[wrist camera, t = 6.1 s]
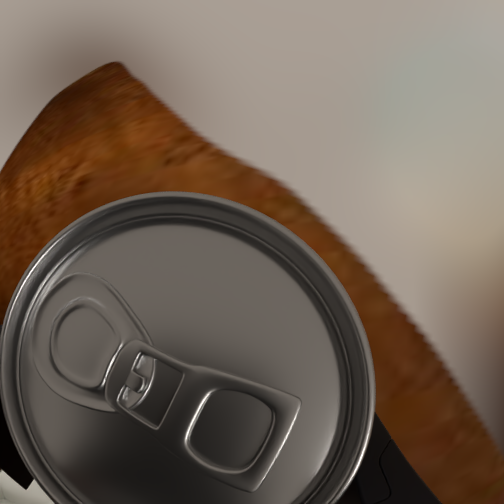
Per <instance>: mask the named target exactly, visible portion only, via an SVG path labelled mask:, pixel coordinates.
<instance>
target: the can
mask: <svg viewBox="0 0 504 504" xmlns="http://www.w3.org/2000/svg"><path fill="white" fill-rule="evenodd" d="M0 398H1V403H2V408H3V412H4V416H5V420H6V423H7V426H8V429H9V432H10V435H11V437H12V440H13V442H14V444H15V447H16V449H17V451H18V453H19V455H20V457H21V459H22V460H23V462H24V464H25V466H26V467H27V469H28V471H29V472H30V474H31V475H32V477H33V478H34V479H35V481H36V482H37V484H38V485H39V486H40V487H41V489H42V490H43V491H44V492H45V494H46V495H47V496H48V497H49V498H50V499H51V500H52V501H53V502H54V504H337V502H338V501H339V500H340V499H341V497H342V496H343V495H344V493H345V492H346V490H347V489H348V487H349V486H350V484H351V482H352V481H353V479H354V477H355V475H356V473H357V471H358V469H359V467H360V465H361V463H362V460H363V458H364V455H365V453H366V450H367V447H368V443H369V440H370V436H371V432H372V427H373V421H374V414H375V400H376V387H375V373H374V366H373V360H372V355H371V350H370V346H369V342H368V339H367V336H366V333H365V330H364V327H363V324H362V322H361V319H360V317H359V315H358V313H357V310H356V308H355V306H354V304H353V302H352V301H351V299H350V297H349V295H348V294H347V292H346V290H345V289H344V287H343V286H342V284H341V283H340V281H339V280H338V278H337V277H336V276H335V274H334V273H333V272H332V270H331V269H330V268H329V267H328V265H327V264H326V263H325V262H324V261H323V260H322V259H321V258H320V257H319V256H318V254H317V253H316V252H315V251H314V250H313V249H311V248H310V247H309V246H308V245H307V244H306V243H305V242H304V241H303V240H301V239H300V238H299V237H298V236H296V235H295V234H294V233H293V232H291V231H290V230H289V229H287V228H286V227H284V226H283V225H281V224H280V223H278V222H276V221H275V220H273V219H271V218H270V217H268V216H266V215H264V214H262V213H260V212H258V211H256V210H254V209H252V208H250V207H247V206H245V205H242V204H239V203H237V202H234V201H231V200H227V199H224V198H220V197H216V196H211V195H206V194H200V193H191V192H155V193H147V194H141V195H135V196H131V197H127V198H123V199H120V200H117V201H114V202H111V203H109V204H106V205H104V206H101V207H99V208H97V209H95V210H93V211H91V212H89V213H87V214H85V215H84V216H82V217H80V218H79V219H77V220H75V221H74V222H73V223H71V224H70V225H68V226H67V227H66V228H64V229H63V230H62V231H61V232H59V233H58V234H57V235H56V236H55V237H54V238H53V239H52V240H51V241H50V242H49V243H48V244H47V245H46V246H45V247H44V248H43V249H42V250H41V251H40V252H39V254H38V255H37V256H36V257H35V259H34V260H33V261H32V263H31V264H30V265H29V267H28V268H27V270H26V271H25V273H24V275H23V276H22V278H21V280H20V282H19V283H18V285H17V287H16V289H15V291H14V294H13V296H12V298H11V301H10V303H9V306H8V309H7V312H6V315H5V319H4V322H3V327H2V331H1V337H0Z"/></svg>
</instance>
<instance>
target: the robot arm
mask: <svg viewBox="0 0 504 504" xmlns="http://www.w3.org/2000/svg"><path fill="white" fill-rule="evenodd" d="M2 327H3V325H0V337H1V331H2ZM2 471H4V472H5V473H6V474H7V475H8V476H9V477H11V478H12V479H13V480H14V481H15V482H16V483H18V484H19V485H20V486H21V487H22V488H24V489H25V490H27V489H28V487H29V486H30V485H31V483H32V481H33V480H34V478H33V477H32V475H31V474H30V472H29V471H28V469H27V467H26V466H25V464H24V462H23V460H22V459H21V457H20V455H19V453H18V451H17V449H16V447H15V444H14V442H13V440H12V437H11V435H10V432H9V429H8V426H7V423H6V420H5V416H4V412H3V408H2V403H1V398H0V473H1V472H2ZM337 504H442V503H441V502H440V501H439V500H438V498H437V497H436V496H435V495H434V494H433V492H432V491H431V490H430V489H429V488H428V486H427V485H426V484H425V483H424V481H423V480H422V479H421V478H420V477H419V475H418V474H417V473H416V472H415V470H414V469H413V468H412V466H411V465H410V464H409V462H408V461H407V460H406V458H405V457H404V455H403V454H402V452H401V451H400V449H399V448H398V446H397V445H396V443H395V442H394V440H393V439H391V436H390V434H389V433H388V431H387V430H386V428H385V426H384V425H383V423H382V422H381V420H380V419H379V417H378V416H377V414H376V413H375V414H374V421H373V427H372V432H371V436H370V440H369V443H368V447H367V450H366V453H365V455H364V458H363V460H362V463H361V465H360V467H359V469H358V471H357V473H356V475H355V477H354V479H353V481H352V482H351V484H350V486H349V487H348V489H347V490H346V492H345V493H344V495H343V496H342V497H341V499H340V500H339V501H338V502H337Z"/></svg>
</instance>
